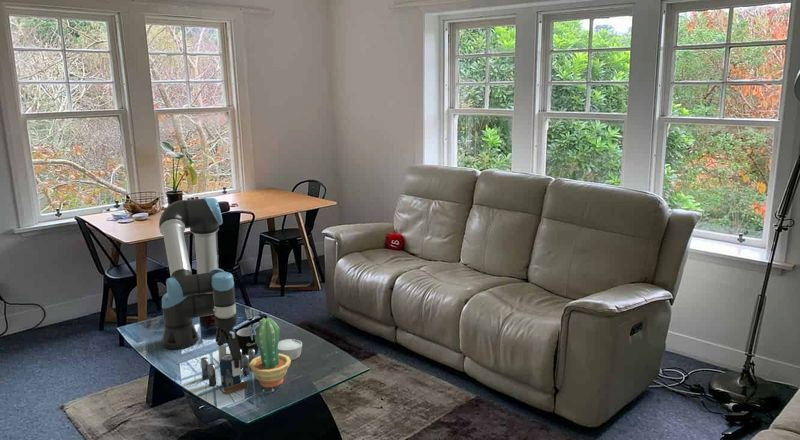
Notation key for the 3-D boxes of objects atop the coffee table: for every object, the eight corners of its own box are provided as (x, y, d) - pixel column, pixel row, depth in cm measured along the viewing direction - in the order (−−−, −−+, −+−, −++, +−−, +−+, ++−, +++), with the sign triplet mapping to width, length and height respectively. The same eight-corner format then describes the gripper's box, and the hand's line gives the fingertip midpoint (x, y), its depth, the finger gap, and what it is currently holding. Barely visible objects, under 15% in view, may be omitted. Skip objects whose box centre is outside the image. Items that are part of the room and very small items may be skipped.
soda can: (236, 380, 233) (233, 350, 231) (244, 386, 228) (241, 356, 225) (218, 385, 229) (216, 356, 227) (226, 392, 224) (223, 362, 221)
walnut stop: (224, 393, 223) (223, 387, 223) (246, 386, 228) (245, 381, 227) (225, 395, 222) (225, 389, 222) (247, 388, 227) (247, 382, 226)
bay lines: (216, 386, 229) (216, 385, 229) (239, 379, 234) (239, 378, 234) (223, 394, 223) (223, 393, 223) (247, 386, 228) (247, 386, 228)
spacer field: (198, 374, 239) (196, 355, 237) (247, 360, 250) (246, 342, 248) (210, 387, 228) (208, 367, 226) (260, 372, 240) (259, 353, 238)
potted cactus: (265, 369, 242) (261, 309, 236) (299, 375, 236) (296, 314, 231) (242, 387, 228) (237, 324, 222) (277, 394, 222) (273, 330, 217)
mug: (245, 361, 249) (243, 337, 247) (234, 354, 256) (232, 331, 253) (270, 352, 257) (269, 329, 255) (259, 345, 264) (258, 323, 261)
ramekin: (308, 354, 255) (307, 342, 253) (289, 364, 246) (288, 352, 244) (288, 348, 261) (288, 336, 260) (269, 358, 252) (268, 346, 251)
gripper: (203, 306, 230) (208, 358, 235) (227, 328, 210) (232, 384, 215) (223, 302, 234) (227, 353, 239) (248, 323, 215) (252, 378, 220)
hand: (229, 368), depth 227 cm, fingers open, 13 cm apart
